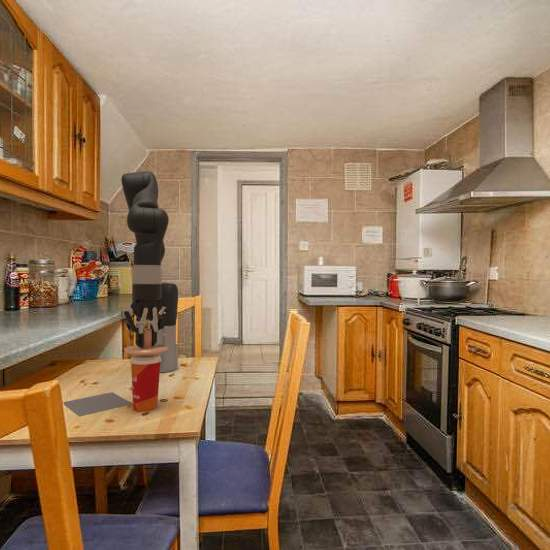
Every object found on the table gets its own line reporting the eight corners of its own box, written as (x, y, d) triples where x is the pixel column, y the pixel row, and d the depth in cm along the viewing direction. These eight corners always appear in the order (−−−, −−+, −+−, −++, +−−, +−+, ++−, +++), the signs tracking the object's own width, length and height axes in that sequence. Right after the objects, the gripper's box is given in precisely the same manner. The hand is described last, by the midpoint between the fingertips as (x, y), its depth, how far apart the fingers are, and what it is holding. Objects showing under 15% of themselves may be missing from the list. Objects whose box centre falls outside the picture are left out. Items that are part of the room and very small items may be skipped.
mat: (112, 395, 118) (112, 392, 118) (133, 407, 108) (133, 403, 108) (61, 406, 108) (61, 402, 108) (79, 420, 98) (79, 416, 98)
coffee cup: (133, 406, 109) (134, 352, 109) (163, 405, 110) (164, 352, 110) (124, 417, 101) (125, 358, 101) (157, 416, 101) (158, 358, 101)
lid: (154, 345, 113) (155, 325, 113) (175, 351, 105) (175, 329, 105) (117, 350, 105) (117, 328, 105) (136, 357, 97) (136, 334, 97)
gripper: (163, 281, 113) (162, 341, 113) (115, 281, 103) (114, 347, 103) (177, 282, 107) (176, 345, 107) (128, 282, 97) (126, 352, 97)
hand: (146, 346), depth 105 cm, fingers closed on lid, 3 cm apart
